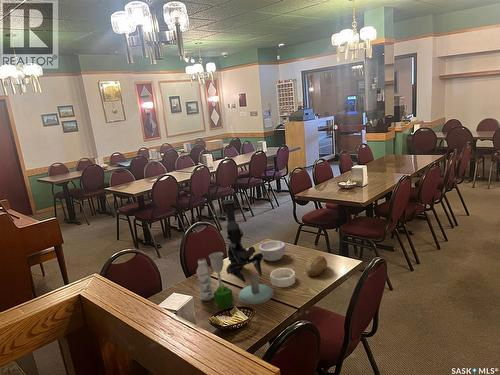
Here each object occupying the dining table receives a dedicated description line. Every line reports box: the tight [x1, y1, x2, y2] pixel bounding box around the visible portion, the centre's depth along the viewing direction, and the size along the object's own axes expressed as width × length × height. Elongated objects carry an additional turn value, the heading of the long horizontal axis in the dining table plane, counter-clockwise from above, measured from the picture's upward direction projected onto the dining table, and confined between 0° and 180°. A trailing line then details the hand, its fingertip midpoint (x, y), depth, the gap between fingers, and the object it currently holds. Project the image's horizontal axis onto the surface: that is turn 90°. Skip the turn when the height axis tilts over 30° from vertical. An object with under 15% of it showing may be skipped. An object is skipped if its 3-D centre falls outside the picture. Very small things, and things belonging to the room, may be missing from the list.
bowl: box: [269, 267, 296, 288], centre depth 176 cm, size 12×12×4 cm
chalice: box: [208, 251, 226, 290], centre depth 176 cm, size 7×7×18 cm
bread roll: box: [304, 255, 328, 277], centre depth 183 cm, size 10×15×8 cm, turn 143°
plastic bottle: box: [196, 258, 215, 302], centre depth 167 cm, size 6×7×20 cm
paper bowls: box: [258, 240, 287, 262], centre depth 205 cm, size 15×15×8 cm
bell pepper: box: [213, 283, 234, 309], centre depth 160 cm, size 8×8×10 cm
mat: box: [237, 287, 275, 305], centre depth 168 cm, size 17×17×1 cm
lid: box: [239, 274, 272, 303], centre depth 167 cm, size 15×15×9 cm
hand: (253, 278), depth 166 cm, fingers open, 9 cm apart
